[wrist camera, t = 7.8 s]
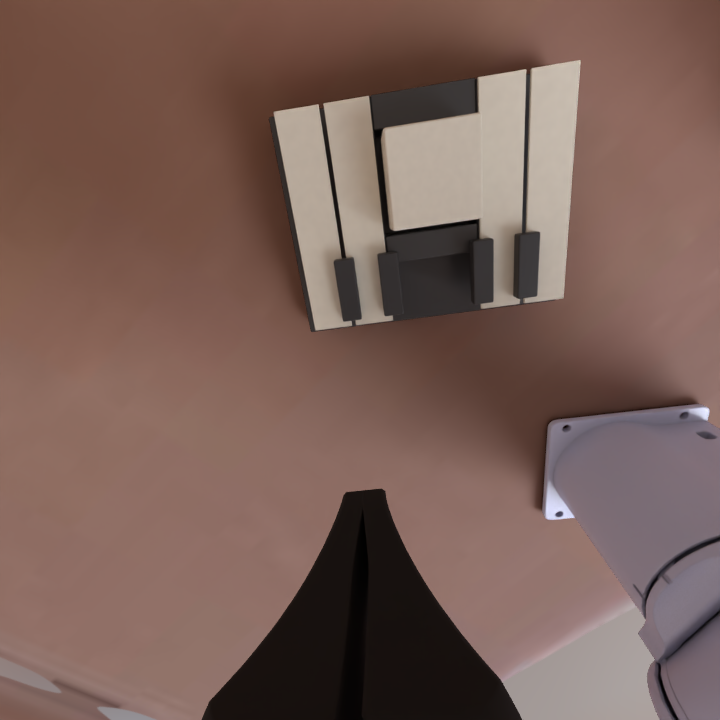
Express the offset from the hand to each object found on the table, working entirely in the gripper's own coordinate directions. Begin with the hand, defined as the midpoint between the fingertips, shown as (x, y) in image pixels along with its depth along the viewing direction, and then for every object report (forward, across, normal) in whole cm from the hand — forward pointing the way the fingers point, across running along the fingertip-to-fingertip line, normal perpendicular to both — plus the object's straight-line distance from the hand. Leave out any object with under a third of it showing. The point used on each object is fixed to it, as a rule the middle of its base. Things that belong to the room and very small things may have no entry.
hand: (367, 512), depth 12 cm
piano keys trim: (+7, -4, -9) cm, 12 cm away
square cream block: (+8, -4, -11) cm, 14 cm away
